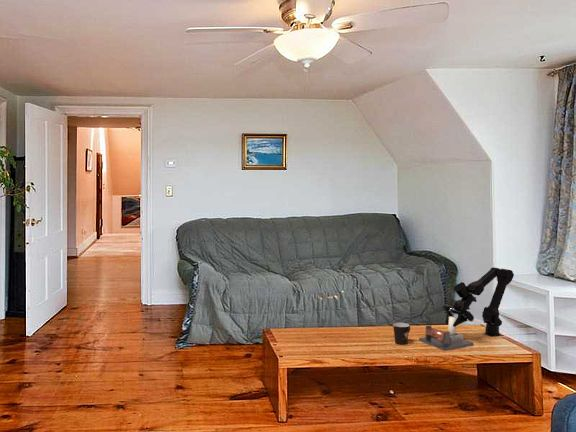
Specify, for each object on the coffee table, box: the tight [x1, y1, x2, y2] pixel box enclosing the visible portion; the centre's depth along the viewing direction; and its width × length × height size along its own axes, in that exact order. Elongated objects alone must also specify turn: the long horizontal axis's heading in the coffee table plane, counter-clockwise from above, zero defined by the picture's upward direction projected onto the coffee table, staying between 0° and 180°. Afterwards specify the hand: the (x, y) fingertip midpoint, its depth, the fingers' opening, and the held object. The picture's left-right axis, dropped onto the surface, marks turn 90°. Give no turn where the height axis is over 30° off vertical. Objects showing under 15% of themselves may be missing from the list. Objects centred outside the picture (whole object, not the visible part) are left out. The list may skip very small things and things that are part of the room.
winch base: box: [418, 324, 475, 352], centre depth 281 cm, size 20×20×8 cm
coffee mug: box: [392, 322, 411, 346], centre depth 282 cm, size 12×9×10 cm
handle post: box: [447, 316, 458, 336], centre depth 283 cm, size 4×4×12 cm
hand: (449, 325), depth 282 cm, fingers open, 5 cm apart
